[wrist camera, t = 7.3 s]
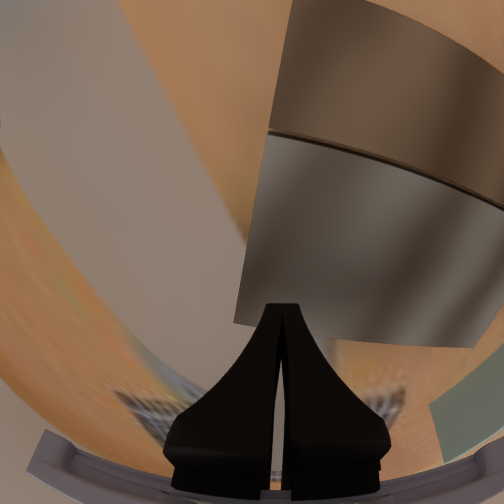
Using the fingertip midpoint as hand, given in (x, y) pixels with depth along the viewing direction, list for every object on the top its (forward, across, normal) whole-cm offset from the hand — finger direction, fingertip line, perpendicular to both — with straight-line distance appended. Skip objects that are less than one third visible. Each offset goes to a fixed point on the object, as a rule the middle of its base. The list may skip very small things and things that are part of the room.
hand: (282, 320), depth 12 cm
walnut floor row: (+4, -9, -9) cm, 13 cm away
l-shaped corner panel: (+4, -24, +15) cm, 29 cm away
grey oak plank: (+2, -8, -5) cm, 10 cm away
